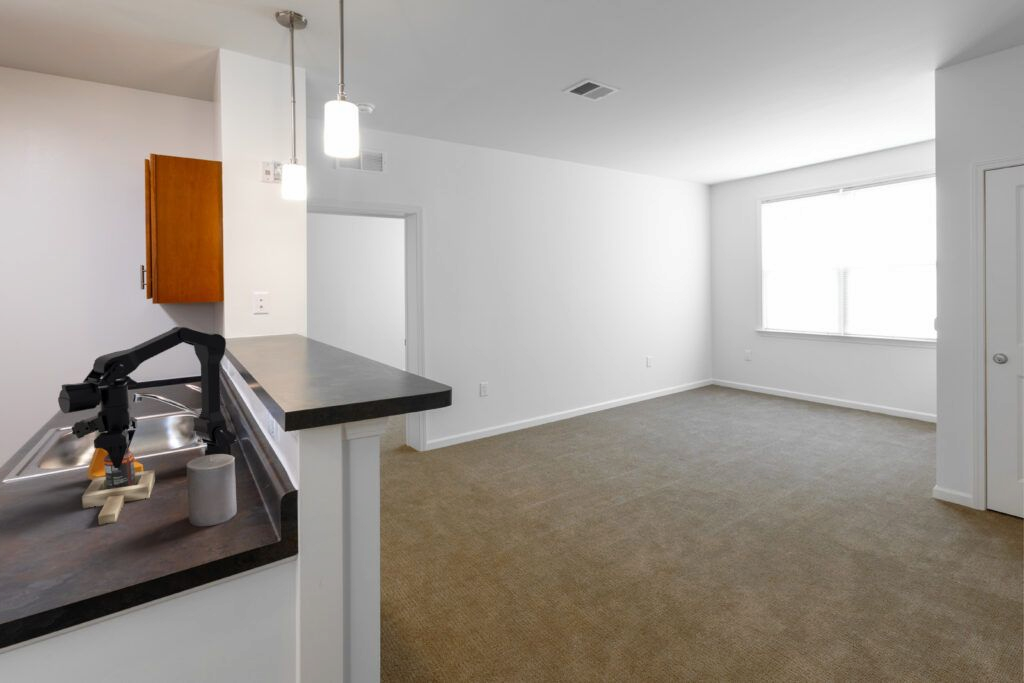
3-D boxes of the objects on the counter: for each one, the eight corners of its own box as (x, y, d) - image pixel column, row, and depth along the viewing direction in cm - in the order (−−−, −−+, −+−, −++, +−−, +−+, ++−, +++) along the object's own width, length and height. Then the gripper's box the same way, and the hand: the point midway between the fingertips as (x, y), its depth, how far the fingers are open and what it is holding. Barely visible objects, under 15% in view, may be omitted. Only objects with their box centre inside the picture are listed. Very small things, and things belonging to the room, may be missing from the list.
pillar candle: (184, 516, 118) (181, 454, 116) (230, 503, 125) (227, 445, 123) (195, 531, 111) (191, 466, 109) (243, 517, 118) (240, 456, 116)
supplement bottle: (132, 481, 134) (128, 440, 133) (138, 487, 130) (135, 445, 129) (103, 488, 129) (100, 446, 128) (110, 495, 126) (106, 451, 124)
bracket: (98, 486, 134) (94, 443, 133) (88, 480, 138) (84, 438, 137) (144, 474, 143) (141, 433, 142) (134, 469, 147) (131, 429, 146)
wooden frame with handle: (155, 480, 139) (154, 469, 138) (142, 517, 117) (141, 504, 117) (95, 489, 132) (94, 478, 132) (70, 529, 111) (68, 516, 110)
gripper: (82, 400, 131) (87, 457, 133) (63, 417, 115) (69, 482, 117) (135, 396, 137) (139, 451, 139) (123, 411, 121) (128, 474, 123)
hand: (119, 463), depth 129 cm, fingers closed on supplement bottle, 6 cm apart
